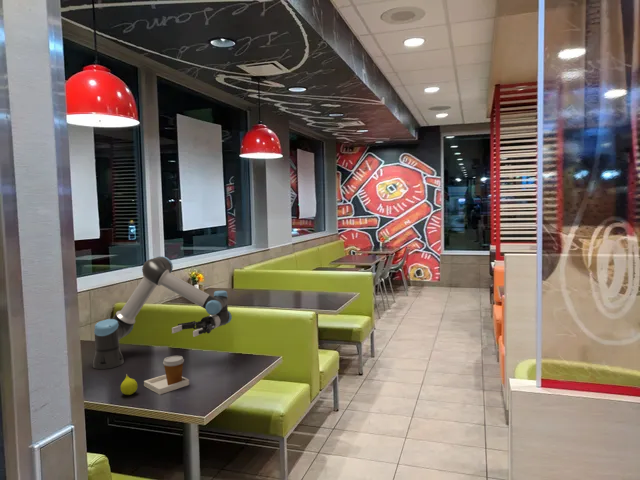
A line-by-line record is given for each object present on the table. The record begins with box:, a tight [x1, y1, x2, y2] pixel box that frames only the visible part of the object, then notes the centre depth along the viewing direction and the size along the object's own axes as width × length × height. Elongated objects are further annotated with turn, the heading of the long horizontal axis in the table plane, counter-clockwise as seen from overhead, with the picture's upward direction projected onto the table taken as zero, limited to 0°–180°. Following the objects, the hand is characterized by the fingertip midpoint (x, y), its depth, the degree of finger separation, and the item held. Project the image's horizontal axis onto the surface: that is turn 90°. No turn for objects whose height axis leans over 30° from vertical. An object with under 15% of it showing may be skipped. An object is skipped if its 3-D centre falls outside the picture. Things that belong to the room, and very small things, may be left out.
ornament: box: [120, 373, 138, 396], centre depth 209 cm, size 7×7×10 cm
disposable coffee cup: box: [162, 355, 185, 385], centre depth 219 cm, size 10×10×12 cm
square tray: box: [143, 374, 190, 396], centre depth 219 cm, size 15×15×2 cm
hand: (182, 332), depth 232 cm, fingers open, 13 cm apart
